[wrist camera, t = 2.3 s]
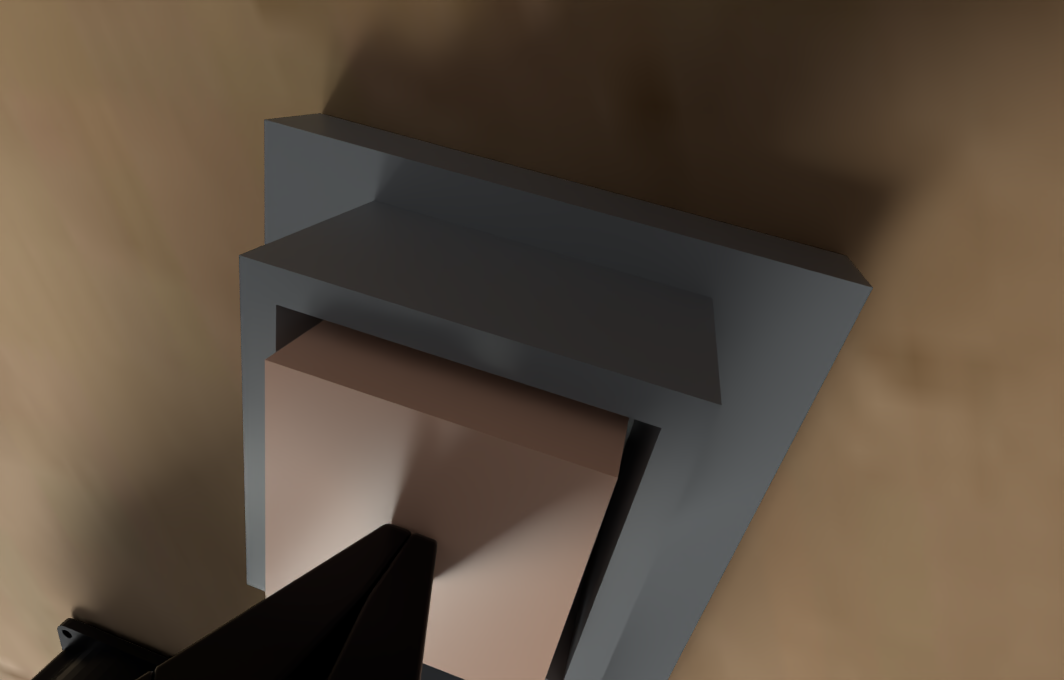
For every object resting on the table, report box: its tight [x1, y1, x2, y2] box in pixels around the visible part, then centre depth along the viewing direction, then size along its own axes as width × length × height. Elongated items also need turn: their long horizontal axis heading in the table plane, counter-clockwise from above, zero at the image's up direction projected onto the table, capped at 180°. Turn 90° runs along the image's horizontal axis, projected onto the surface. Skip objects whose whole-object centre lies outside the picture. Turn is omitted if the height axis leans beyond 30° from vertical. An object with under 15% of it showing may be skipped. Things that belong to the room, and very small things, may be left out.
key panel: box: [239, 113, 873, 680], centre depth 15 cm, size 12×22×6 cm, turn 168°
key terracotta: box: [265, 320, 629, 680], centre depth 10 cm, size 5×5×3 cm
